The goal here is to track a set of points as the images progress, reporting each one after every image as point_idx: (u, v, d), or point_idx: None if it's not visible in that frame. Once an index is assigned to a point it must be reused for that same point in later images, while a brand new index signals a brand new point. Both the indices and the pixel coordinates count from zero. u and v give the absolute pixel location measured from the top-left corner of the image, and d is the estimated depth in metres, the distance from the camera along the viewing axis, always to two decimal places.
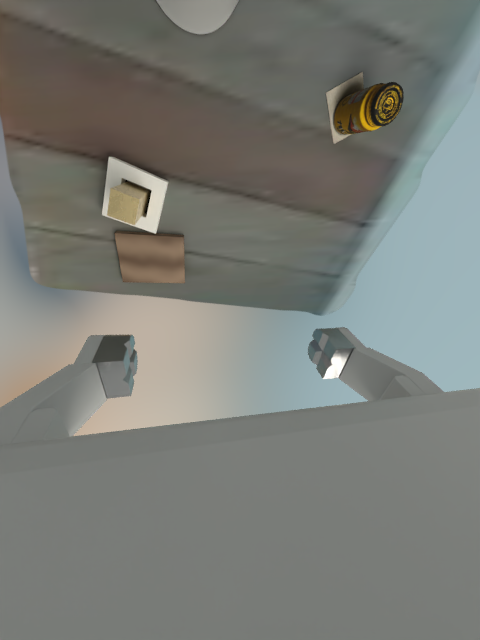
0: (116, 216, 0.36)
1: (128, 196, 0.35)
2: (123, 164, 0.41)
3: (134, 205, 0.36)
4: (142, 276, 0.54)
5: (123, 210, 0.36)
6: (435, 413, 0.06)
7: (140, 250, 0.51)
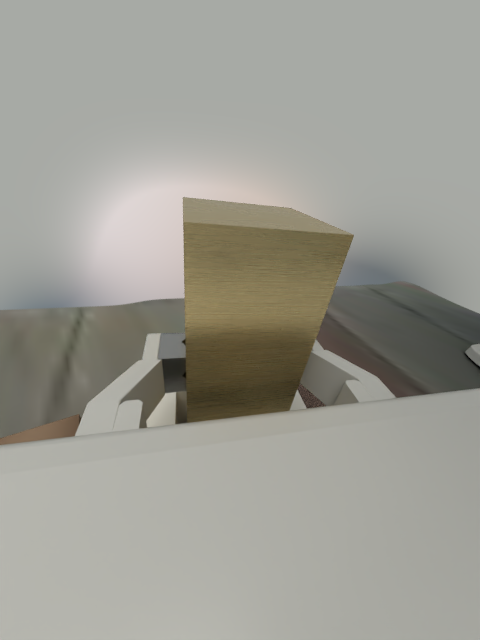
0: (192, 203, 0.07)
1: (317, 221, 0.07)
2: None
3: (305, 227, 0.06)
4: None
5: (238, 212, 0.07)
6: (435, 413, 0.06)
7: None
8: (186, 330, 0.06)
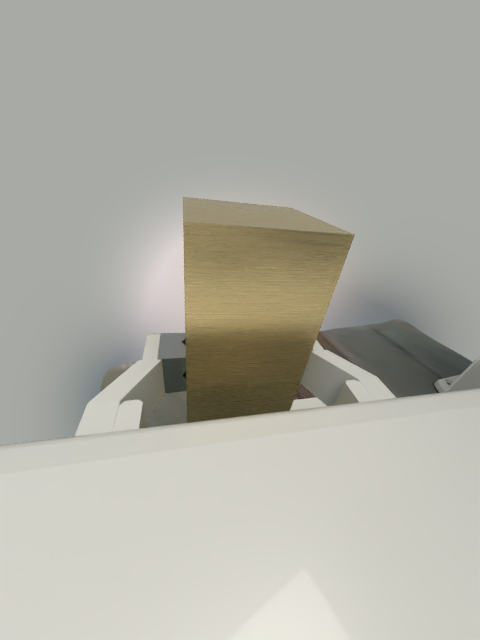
0: (192, 203, 0.07)
1: (318, 221, 0.07)
2: None
3: (306, 227, 0.06)
4: None
5: (239, 211, 0.07)
6: (435, 413, 0.06)
7: None
8: (186, 330, 0.06)
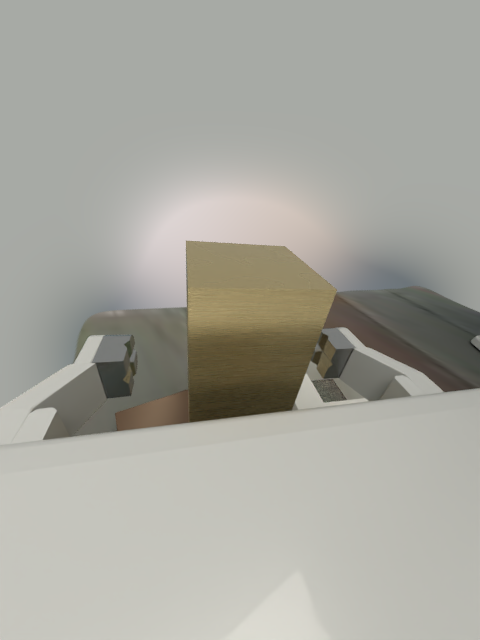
0: (195, 251, 0.08)
1: (307, 268, 0.08)
2: None
3: (294, 281, 0.06)
4: None
5: (236, 261, 0.07)
6: (435, 413, 0.06)
7: None
8: (189, 370, 0.07)
